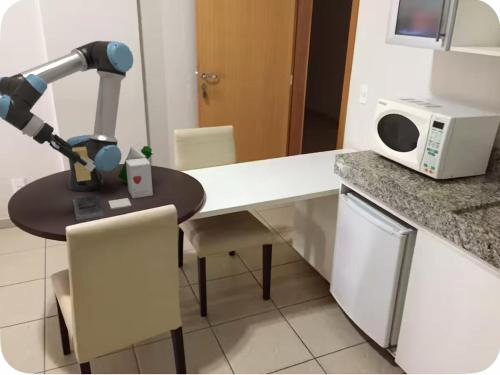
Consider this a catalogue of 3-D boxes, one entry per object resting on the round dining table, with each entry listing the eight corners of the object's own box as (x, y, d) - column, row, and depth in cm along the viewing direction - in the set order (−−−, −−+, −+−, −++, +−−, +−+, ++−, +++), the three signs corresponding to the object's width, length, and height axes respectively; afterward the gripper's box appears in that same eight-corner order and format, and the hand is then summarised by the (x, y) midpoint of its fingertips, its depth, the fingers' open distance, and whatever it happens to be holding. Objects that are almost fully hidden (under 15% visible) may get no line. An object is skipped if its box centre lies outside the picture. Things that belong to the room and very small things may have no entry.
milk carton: (129, 187, 195) (145, 154, 185) (115, 175, 196) (130, 142, 186) (141, 181, 203) (157, 149, 193) (127, 170, 204) (142, 137, 194)
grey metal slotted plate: (73, 203, 177) (72, 198, 176) (98, 199, 181) (97, 195, 180) (76, 220, 161) (75, 215, 161) (103, 216, 165) (103, 211, 165)
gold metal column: (76, 177, 167) (71, 148, 163) (89, 175, 169) (85, 146, 165) (77, 181, 163) (72, 151, 159) (91, 179, 165) (86, 150, 161)
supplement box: (132, 199, 182) (129, 165, 176) (128, 191, 189) (124, 159, 184) (153, 195, 185) (150, 162, 180) (148, 188, 193) (145, 157, 187)
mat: (108, 202, 178) (108, 200, 178) (128, 199, 181) (127, 198, 181) (111, 209, 171) (111, 208, 171) (131, 206, 174) (131, 204, 174)
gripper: (31, 132, 161) (84, 167, 174) (31, 144, 146) (88, 181, 158) (44, 117, 161) (95, 153, 174) (45, 127, 146) (101, 166, 159)
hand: (92, 166), depth 166 cm, fingers closed on gold metal column, 5 cm apart
